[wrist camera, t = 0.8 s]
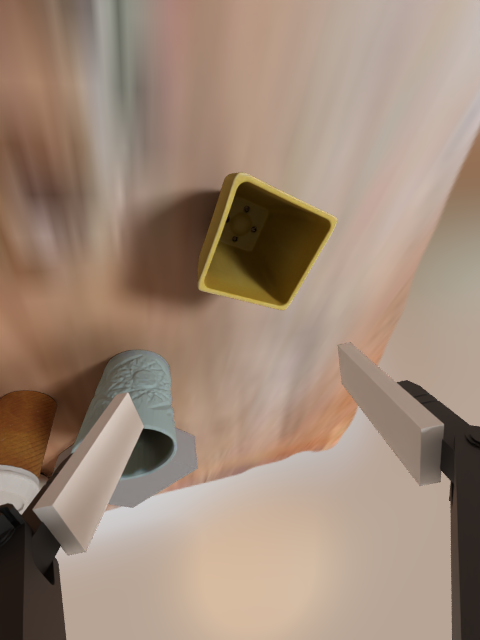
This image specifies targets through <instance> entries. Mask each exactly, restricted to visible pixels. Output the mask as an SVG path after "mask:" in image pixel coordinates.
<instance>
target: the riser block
mask: <svg viewBox="0 0 480 640" xmlns="http://www.w3.org/2000/svg"><path fill="white" fill-rule="evenodd" d="M175 432H176V440H177V451H176V453H175V455H174V457H173V458H172V460H171V461H170V462H169V463H168V464H167V465H165V466H164V467H162V468H161V469H159V470H157V471H155V472H153V473H151V474H148V475H146V476H142V477H138V478H134V479H128V480H119V481H118V484H117V486H116V488H115V490H114V492H113V494H112V497H111V499H110V501H109V503H108V504H110V505H117V506H125V507H135V506H136V505H138V504H140V503H141V502H143V501H145V500H146V499H147V498H150V497H151V496H153V495H155V494H156V493H158V492H160V491H161V490H163V489H165V488H166V487H168V486H170V485H171V484H173V483H174V482H176V481H178V480H179V479H181V478H183V477H184V476H186V475H188V474H189V473H191V472H193V471H194V470H196V469H198V468H197V457H196V446H195V436H193V435H191V434H188V433H186V432H184V431H182V430H179V429H177V428H175ZM73 445H74V444H73ZM73 445H72V446H70V447H69V448H68V449H66V450H65V451H63V452H62V453H61V454H59V456H58V459H57V462H56V465H55V468H54V471H55V470H56V469H57V467H58V466H59V465H60V463H61V462H62V461H64V460H65V459H66V458H67V457H68V456H69V455H70V453H71V450H72V448H73ZM54 471H53V473H54ZM53 473H52V475H53Z"/></svg>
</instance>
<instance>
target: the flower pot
mask: <svg viewBox="0 0 480 640" xmlns="http://www.w3.org/2000/svg"><path fill="white" fill-rule="evenodd" d="M245 206H248V207H249V211H248V212H245V211H244V207H245ZM227 217H229V221H228V222H226V219H227ZM336 223H337V218H336V217H334V216H333V215H331V214H328V213H326V212H324V211H322V210H320V209H318V208H316V207H314V206H311V205H309V204H307V203H305V202H303V201H301V200H299V199H297V198H295V197H293V196H291V195H289V194H286V193H285V192H283V191H281V190H278V189H276V188H275V187H273V186H271V185H269V184H267V183H265V182H263V181H261V180H259V179H257V178H255V177H253V176H251V175H249V174H246V173H243V172H240V173H233V174H229V175H228V176H226V178H225V179H224V182H223V185H222V188H221V192H220V195H219V198H218V201H217V204H216V207H215V211H214V214H213V217H212V220H211V223H210V226H209V229H208V232H207V234H206V237H205V240H204V243H203V246H202V249H201V252H200V255H199V260H198V283H197V286H198V289H199V290H200V291H203V292H207V293H212V294H216V295H220V296H224V297H229V298H233V299H237V300H241V301H246V302H250V303H253V304H258V305H262V306H265V307H270V308H274V309H278V310H286V309H287V307H288V306H289V305H290V303H291V302H292V300H293V299H294V297H295V295H296V294H297V292H298V290H299V288H300V287H301V285H302V283H303V281H304V280H305V278H306V276H307V275H308V273H309V271H310V269H311V268H312V266H313V264H314V263H315V261H316V259H317V258H318V256H319V254H320V252H321V251H322V249H323V247H324V246H325V244H326V243H327V241H328V239H329V237H330V236H331V234H332V232H333V230H334V228H335V225H336ZM252 227H256V231H255V232H252V231H251V229H252ZM234 236H236V237H237V240H236V241H233V240H232V238H233V237H234Z"/></svg>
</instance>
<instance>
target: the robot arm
mask: <svg viewBox="0 0 480 640" xmlns="http://www.w3.org/2000/svg"><path fill="white" fill-rule="evenodd" d="M338 354H339V363H340V373H341V382H342V385H343V386H344V387H345V389H346V390H347V391H348V392H349V394H350V395H351V396H352V398H353V399H354V400H355V402H356V403H357V404H358V406H359V407H360V408H361V410H362V411H363V412H364V413H365V415H366V416H367V417H368V419H369V420H370V421H371V423H372V424H373V425H374V427H375V428H376V429H377V430H378V432H379V433H380V434H381V435H382V437H383V438H384V440H385V441H386V442H387V444H388V445H389V446H390V448H391V449H392V450H393V452H394V453H395V454H396V456H397V457H398V458H399V459H400V461H401V462H402V463H403V465H404V466H405V467H406V468H407V470H408V471H409V473H410V474H411V475H412V476H413V478H414V479H415V480H416V482H417V483H418V484H419V486H423V485H428V484H433V483H438V482H441V471H442V472H443V473H444V474H445V475H446V476H447V477H448V478H449V479H450V480H451V485H450V497H449V501H451V580H452V581H451V584H452V640H480V427H479V426H471V425H469V424H468V423H466V422H465V421H464V420H463V419H461V418H460V417H459V416H458V415H456V414H455V413H454V412H452V411H451V410H450V409H449V408H447V407H446V406H445V405H443V404H442V403H441V402H440V401H437V399H436V398H435V397H433V396H432V395H430V394H429V393H428V392H427V391H426V390H424V389H423V388H422V387H421V386H419V385H416V384H414V383H412V382H410V381H408V380H406V381H401V382H395V381H394V380H393V379H392V378H391V377H389V376H388V375H387V374H386V373H385V372H384V371H383V370H381V369H380V368H379V367H378V366H377V365H376V364H375V363H373V362H372V361H371V360H370V359H369V358H368V357H367V356H365V355H364V354H363V353H362V352H361V351H360V350H359V349H357V348H356V347H355V346H354V345H353V344H352V343H351V342H349V343H345V344H340V345H338ZM143 427H144V426H143V423H142V421H141V419H140V417H139V415H138V413H137V410H136V408H135V406H134V404H133V402H132V400H131V397H130V395H129V393H128V392H126V393H122V394H117V395H116V396H115V397H114V398H113V400H112V401H111V403H110V404H109V405H108V407H107V408H106V409H105V411H104V412H103V413H102V415H101V416H100V418H99V419H98V420H97V422H96V423H95V424H94V426H93V427H92V429H91V430H90V431H89V433H88V434H87V435H86V437H85V438H84V439H83V441H82V442H81V444H80V445H79V446H78V448H77V449H76V450H75V452H74V453H71V454H70V455H69V456H68V457H67V458H66V459H65V460H64V461H62V462H61V463H60V465H59V466H58V467H57V469H56V470H55V471H54V473H53V475H52V476H51V477H50V478H49V479H48V481H47V482H46V485H44V486H43V487H42V488H41V490H40V491H39V492H38V494H37V495H36V496H35V498H34V499H33V500H32V502H31V503H30V504H29V506H28V507H27V508H26V510H25V511H24V512H23V514H22V515H21V514H20V513H19V512H18V510H17V509H16V508H15V507H14V505H13V504H10V503H7V504H3V505H0V640H66V633H65V623H64V613H63V603H62V593H61V585H60V574H59V564H58V561H57V559H56V558H55V555H56V553H57V552H58V550H59V548H60V546H61V547H62V549H63V550H64V551H65V553H66V554H67V555H72V554H78V553H83V552H86V551H87V549H88V546H89V544H90V542H91V540H92V538H93V535H94V533H95V531H96V529H97V527H98V525H99V523H100V520H101V518H102V516H103V514H104V512H105V510H106V507H107V505H108V503H109V501H110V499H111V497H112V494H113V492H114V490H115V488H116V486H117V484H118V481H119V479H120V477H121V475H122V473H123V471H124V469H125V466H126V464H127V462H128V460H129V458H130V456H131V453H132V451H133V449H134V447H135V445H136V443H137V440H138V438H139V436H140V434H141V432H142V430H143Z"/></svg>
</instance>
